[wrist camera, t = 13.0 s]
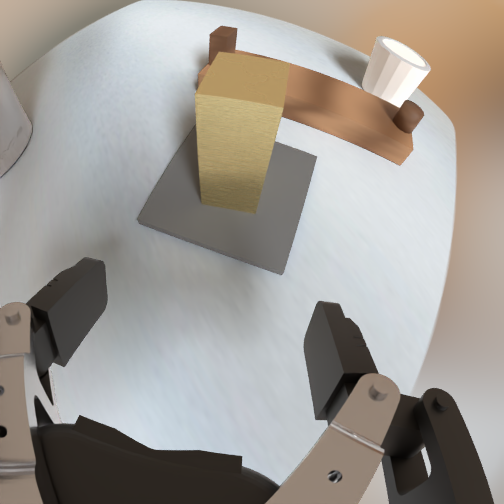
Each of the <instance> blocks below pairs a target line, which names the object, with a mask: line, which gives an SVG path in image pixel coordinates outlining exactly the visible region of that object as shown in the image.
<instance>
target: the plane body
mask: <svg viewBox="0 0 504 504" xmlns="http://www.w3.org/2000/svg"><path fill="white" fill-rule="evenodd" d="M236 37H237V28H232V27H226V26H220V27H219V28H217V29H216V30H215V31H213V32H212V33H211V34H210V43H209V63H208V64H207V65H206V66H205V67H204V68H203V69H202V70H201V71H200V72H199V73H198V87H199V85H200V84H201V82H202V80H203V78H204V76H205V75H206V73H207V71H208V69H209V68H210V66H211V64H212V62H213V61H214V59H215V57H216V56H217V54H218V52H226V53H234V54H242V55H249V56H255V57H261V58H267V59H272V60H277V59H273V58H270V57H266V56H262V55H257V54H253V53H249V52H244V51H239V50H235V47H236ZM277 61H281V60H277ZM282 62H284V61H282ZM287 63H288V62H287ZM423 116H424V112H423V111H422V109H421V108H420V107H419V106H418V105H417V104H415V103H414V102H412V101H409V100H405V101H404V102H403V104H402V105H401V107H400V108H399V107H397V106H395V105H393V104H391V103H389V102H387V101H385V100H383V99H381V98H379V97H377V96H375V95H373V94H371V93H368V92H366V91H364V90H362V89H359V88H357V87H355V86H352V85H350V84H348V83H345V82H343V81H340V80H338V79H335V78H332V77H330V76H327V75H324V74H321V73H319V72H316V71H313V70H310V69H307V68H304V67H301V66H298V65H294V64H291V63H290V67H289V74H288V81H287V88H286V95H285V102H284V108H283V112H282V117H285V118H288V119H291V120H294V121H297V122H299V123H302V124H305V125H308V126H311V127H313V128H316V129H319V130H321V131H324V132H326V133H329V134H331V135H334V136H336V137H339V138H341V139H344V140H346V141H348V142H351V143H353V144H355V145H358V146H360V147H362V148H364V149H367V150H369V151H371V152H373V153H375V154H377V155H380V156H382V157H384V158H386V159H388V160H390V161H392V162H394V163H396V164H398V165H401V164H402V163H403V162H404V161H405V159H406V158H407V157H408V156H409V154H410V153H411V152H412V151H413V141H412V131H413V130H414V129H415V127H416V126H417V125H418V123H419V122H420V121H421V119H422V118H423Z"/></svg>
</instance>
